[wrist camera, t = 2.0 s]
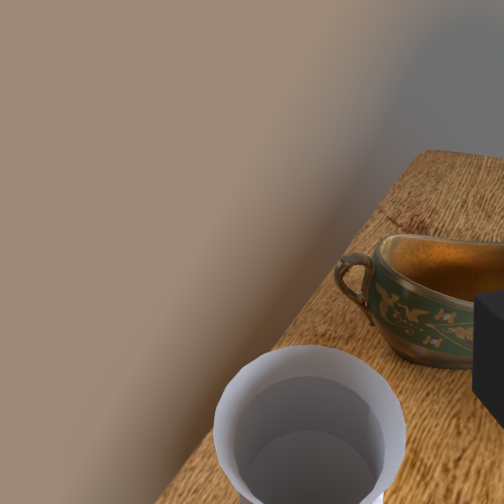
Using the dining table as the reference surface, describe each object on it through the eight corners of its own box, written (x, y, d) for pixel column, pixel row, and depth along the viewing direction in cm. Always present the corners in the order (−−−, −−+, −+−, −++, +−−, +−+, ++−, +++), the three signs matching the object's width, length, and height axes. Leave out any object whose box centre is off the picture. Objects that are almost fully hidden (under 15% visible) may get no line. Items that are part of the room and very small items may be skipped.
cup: (370, 274, 53) (375, 194, 48) (578, 323, 44) (614, 231, 39) (327, 349, 44) (328, 261, 38) (578, 429, 35) (626, 329, 29)
